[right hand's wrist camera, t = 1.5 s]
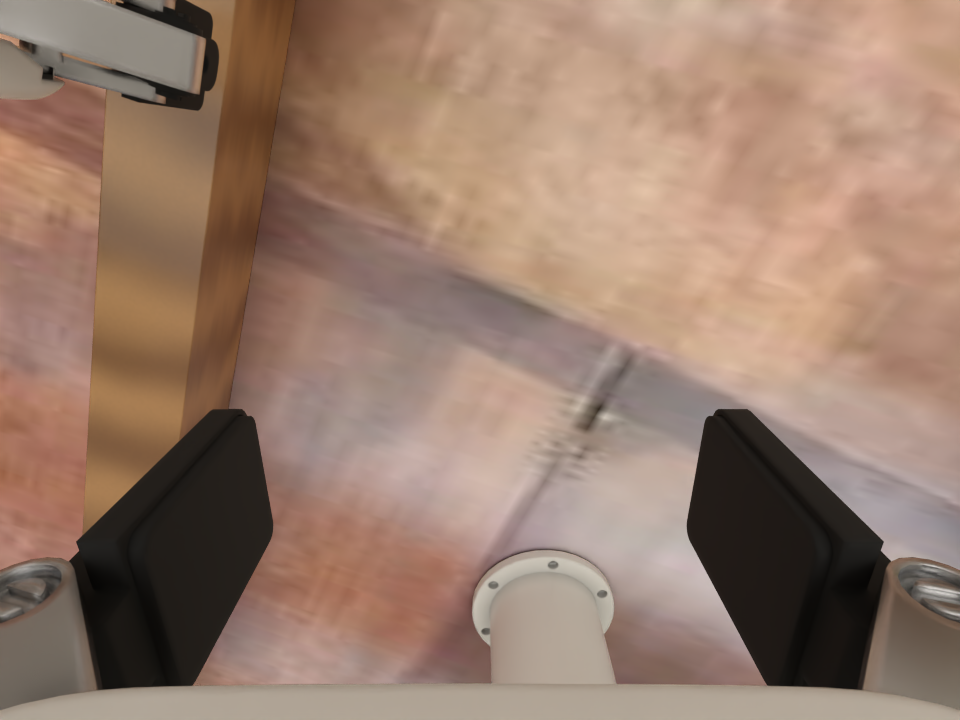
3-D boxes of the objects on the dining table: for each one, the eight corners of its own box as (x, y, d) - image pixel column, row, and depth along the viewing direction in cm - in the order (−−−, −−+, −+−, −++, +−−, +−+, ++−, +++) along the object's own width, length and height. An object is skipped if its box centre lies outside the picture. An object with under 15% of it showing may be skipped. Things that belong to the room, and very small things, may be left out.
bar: (184, 673, 52) (138, 757, 45) (127, 661, 51) (71, 744, 44) (305, -57, 29) (251, -119, 22) (206, -95, 29) (118, -171, 22)
